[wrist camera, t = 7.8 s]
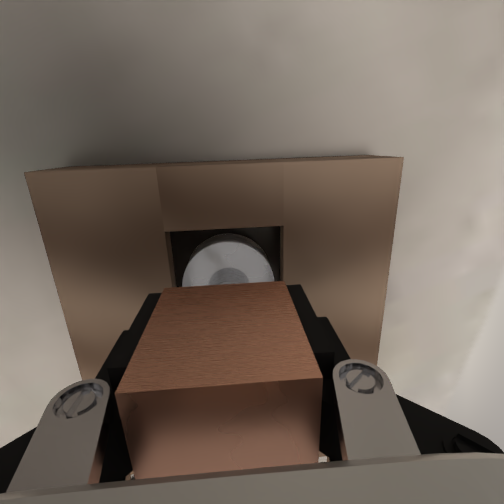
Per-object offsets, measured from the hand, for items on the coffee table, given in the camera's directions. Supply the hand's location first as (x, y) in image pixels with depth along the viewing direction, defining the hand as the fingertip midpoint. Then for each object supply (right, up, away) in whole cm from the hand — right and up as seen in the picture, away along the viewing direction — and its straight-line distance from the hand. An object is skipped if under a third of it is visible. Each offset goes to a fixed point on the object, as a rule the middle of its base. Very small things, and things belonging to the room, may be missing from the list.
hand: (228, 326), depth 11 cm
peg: (0, +2, +5) cm, 5 cm away
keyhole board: (0, -1, +8) cm, 8 cm away
